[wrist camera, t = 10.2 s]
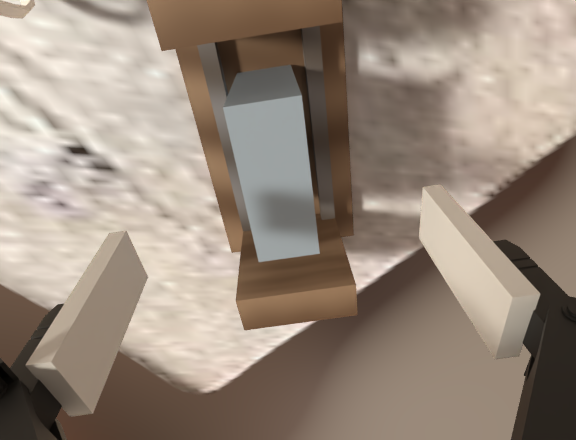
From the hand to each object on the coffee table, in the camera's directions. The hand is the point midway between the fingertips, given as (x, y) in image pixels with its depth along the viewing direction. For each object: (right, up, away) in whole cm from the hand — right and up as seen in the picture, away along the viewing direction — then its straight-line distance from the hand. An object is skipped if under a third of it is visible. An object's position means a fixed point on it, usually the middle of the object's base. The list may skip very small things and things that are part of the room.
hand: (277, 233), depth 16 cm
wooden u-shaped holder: (-1, +8, +14) cm, 16 cm away
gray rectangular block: (-1, +8, +13) cm, 15 cm away
